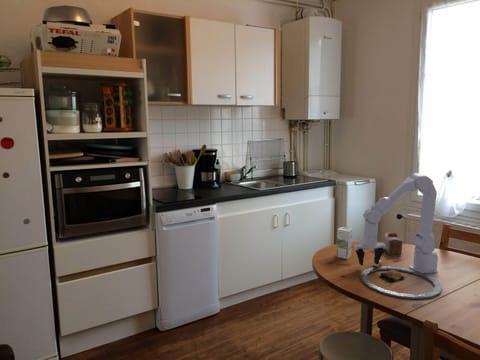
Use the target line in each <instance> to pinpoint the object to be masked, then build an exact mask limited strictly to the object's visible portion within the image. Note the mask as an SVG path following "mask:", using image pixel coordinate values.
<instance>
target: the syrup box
mask: <svg viewBox="0 0 480 360" xmlns="http://www.w3.org/2000/svg"><path fill="white" fill-rule="evenodd" d="M336 235H337V237H336V239H337V240H336V258H337V259H342V260H343V259H345V260H348V259H349V258H351V256H352V241H353V228H350V227H346V226H340V227H338V228H337V234H336Z"/></svg>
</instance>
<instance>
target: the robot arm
mask: <svg viewBox="0 0 480 360" xmlns="http://www.w3.org/2000/svg"><path fill="white" fill-rule="evenodd" d="M416 191H418V192H420V193H421V194H422V200H421V201H422V202H421V209H420V218H419V225H418V229H417V230H416V232H415V235H414V237H413V239H412V243H413V245H414V246H415V247H414V252H413V265H408V268H409V269H411V270H416V271H418V272H421V273H424V274H431V273H438V272H439V271H438V261H439V260H438V259H439V257H438V254H437V252H436V251H435V249H436V243H435V236H434V233H433V226H434V217H435V211H436V210H435V209H436V205H437V195H438V194H437V189H436V188H435V185H434V181H433V180H432V178H430V177H429V176H428V175H423V174H421V173H418V172H413V173H411V174H410V175H409V176H408V177H406V178H405V179H404V180H403V182H402V183H400V185H398V187H396V189H394V190H393V191H392V192H391V193H390V194H389V195H388V196H383V197H380V198H379V199H378V201H377V202H376V203H375V204H374V205H371V206H370V208H367V209H365V211H364V213H363V214H362V215H363V218H364V229H363V230H364V231H363V242H362V243H359V244H354V245H353V249H354V251H355V253H356V255H357V258H358V263H359V265H360V266H363V265H364V258H365V254H366V252H365V251H364V250H374V252H373V253H374V257H373V264H374V263H375V264H377V265H378V263H379V260H381V258H382V256H383V254H385V250H386V249H385V247H386V245H385V244H384V243H383V242H382V243H378V232H379V231H378V229H379V222H380V221H381V219H382V216H384V215H385V214H386V213H387V212H389V211H390V210H391V209H392V208H394V207H393V206H394V203H395V202H396V201H397V200H399V199H400V198H401V197H402V196H403V195H405V194H407V192H416Z"/></svg>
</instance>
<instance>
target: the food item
mask: <svg viewBox="0 0 480 360" xmlns="http://www.w3.org/2000/svg"><path fill="white" fill-rule="evenodd" d="M398 235H399V233H396V232H385V233H384V234H383V239H382V241H383V242H382V243H384V244H385V245H386V247H385V249H384V250H385V251H386V252H387V254H388V255H389V256H393V257H394V256H395V257H397V256H398V257H400V256H401V255H402V254H403V253H402V250H403V241H402V240H401V237H400V236H398Z"/></svg>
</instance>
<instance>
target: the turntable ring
mask: <svg viewBox="0 0 480 360" xmlns="http://www.w3.org/2000/svg"><path fill="white" fill-rule="evenodd" d="M382 264H383V261H382V260H381V259H380V260H379V263H378V265H377V264H375V263H374V262H373V264H372V265H373V266H372V267H368V268H365V269H364V270H363V271H362V272H361V273H360V280H361V282H362V283H363V284H364V285H365V286H366V287H368V288H370V289H372V290H374V291H375V292H378V293H380V294H383V295H387V296H389V297H390V296H391V297H394V298H398V299H400V298H401V299H408V300H425V299H432V298H435V297H437V296H439V295H441V292H442V289H443V286H442V284H441V283H440V282H439V280H437V279H435V278H434V277H432V276H430V275H428V273H421V272H418V271H416V270H413V269H411V268H405V267H403V266H402V267H401V266H391V265H390V266H389V265H382ZM390 270H395V271H398V272H404V273H409V274H413V275H416V276H418V277H421V278H422V279H423V278H424V279H425V280H427V281H428V282H430V283H431V284H432V286H433V290H431V291H428V292H425V293H415V294H413V293H403V292H397V291H392V290H388V289H384V288H383V287H380V286H378V285H375V284H374V283H372V281H370V280H369V279H368V276H369V274H372V273H374V272H377V271H390Z"/></svg>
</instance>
